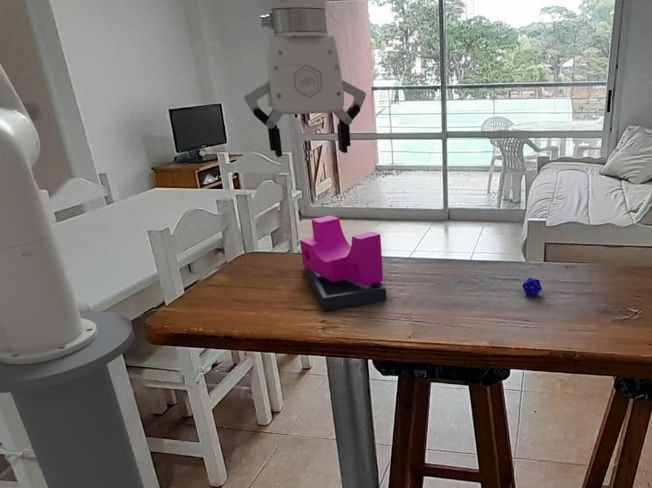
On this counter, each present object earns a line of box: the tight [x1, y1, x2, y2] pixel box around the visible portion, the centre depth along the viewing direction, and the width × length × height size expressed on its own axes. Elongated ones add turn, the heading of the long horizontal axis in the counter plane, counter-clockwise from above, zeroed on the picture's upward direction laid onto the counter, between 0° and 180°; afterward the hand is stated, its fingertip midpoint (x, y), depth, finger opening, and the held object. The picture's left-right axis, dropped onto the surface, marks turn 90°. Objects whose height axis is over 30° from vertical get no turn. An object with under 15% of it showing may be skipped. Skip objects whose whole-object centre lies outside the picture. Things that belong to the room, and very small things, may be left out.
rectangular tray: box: [303, 266, 387, 311], centre depth 93 cm, size 10×19×2 cm, turn 19°
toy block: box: [299, 215, 384, 286], centre depth 92 cm, size 15×6×8 cm, turn 37°
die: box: [521, 277, 543, 297], centre depth 87 cm, size 3×3×3 cm
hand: (311, 153), depth 85 cm, fingers open, 9 cm apart
